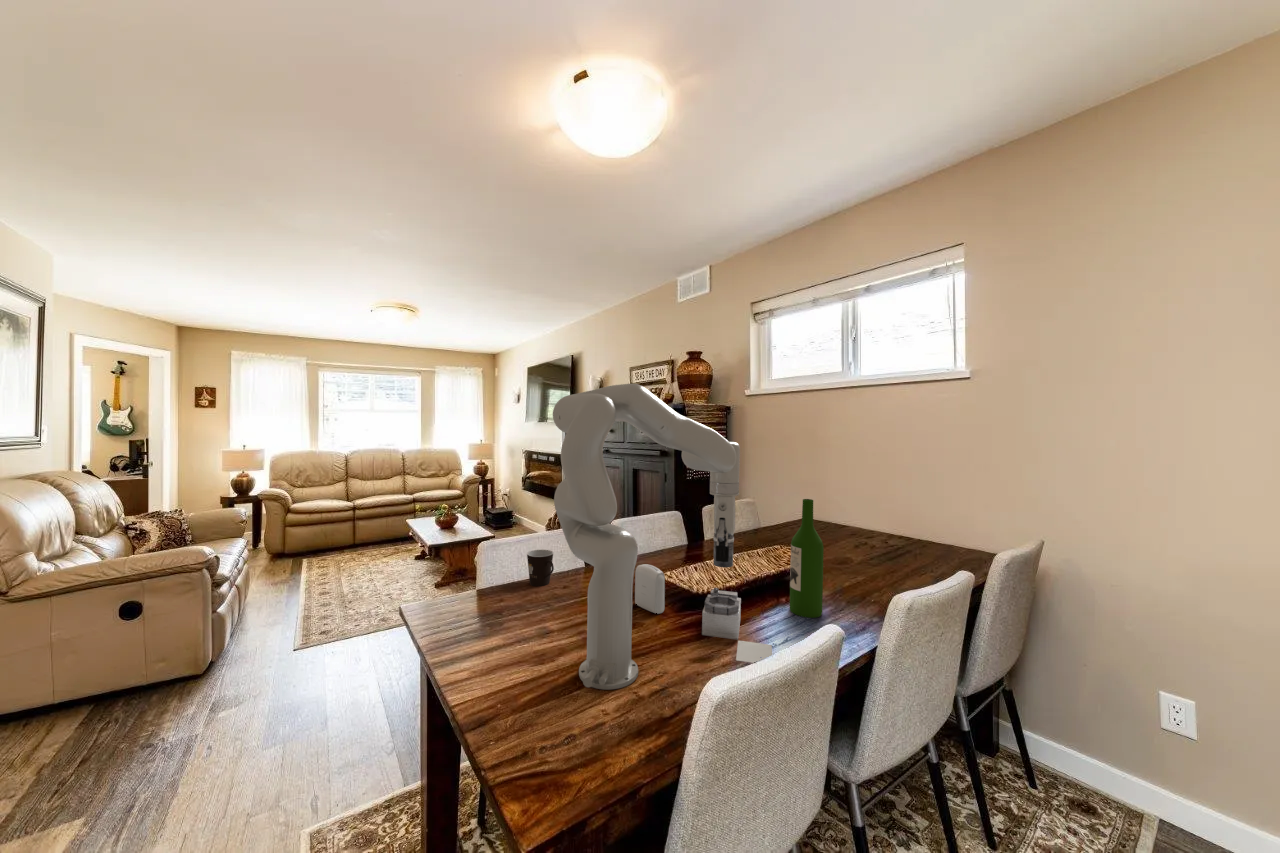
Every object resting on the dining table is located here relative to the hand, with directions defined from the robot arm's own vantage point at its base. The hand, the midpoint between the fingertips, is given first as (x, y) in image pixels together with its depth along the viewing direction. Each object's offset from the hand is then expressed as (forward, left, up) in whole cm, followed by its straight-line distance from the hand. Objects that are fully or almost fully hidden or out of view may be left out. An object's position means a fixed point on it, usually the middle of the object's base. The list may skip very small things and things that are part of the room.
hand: (723, 557), depth 120 cm
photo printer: (+8, +22, -19) cm, 30 cm away
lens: (0, 0, -2) cm, 2 cm away
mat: (-11, -8, -19) cm, 23 cm away
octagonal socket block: (+1, 0, -19) cm, 19 cm away
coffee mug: (+16, +61, -19) cm, 66 cm away
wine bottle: (+19, -22, -19) cm, 35 cm away
